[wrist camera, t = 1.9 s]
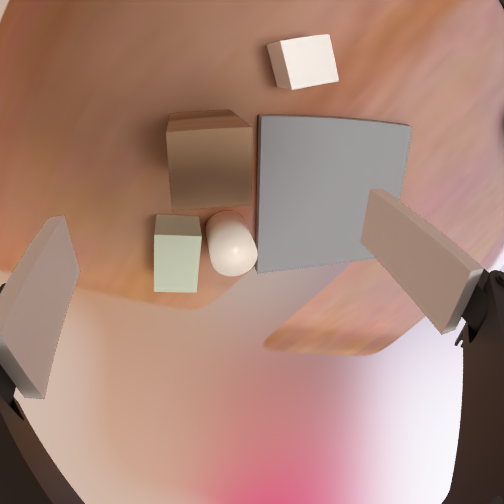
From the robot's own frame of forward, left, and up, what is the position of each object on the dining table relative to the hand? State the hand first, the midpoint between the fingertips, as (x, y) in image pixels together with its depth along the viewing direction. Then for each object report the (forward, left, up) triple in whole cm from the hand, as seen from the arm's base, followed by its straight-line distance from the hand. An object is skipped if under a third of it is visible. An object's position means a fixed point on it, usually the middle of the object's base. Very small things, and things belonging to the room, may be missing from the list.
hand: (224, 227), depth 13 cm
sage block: (+10, -3, -16) cm, 19 cm away
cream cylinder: (+9, +2, -16) cm, 18 cm away
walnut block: (0, 0, -16) cm, 16 cm away
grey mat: (+6, +13, -16) cm, 21 cm away
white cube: (-7, +8, -16) cm, 19 cm away
